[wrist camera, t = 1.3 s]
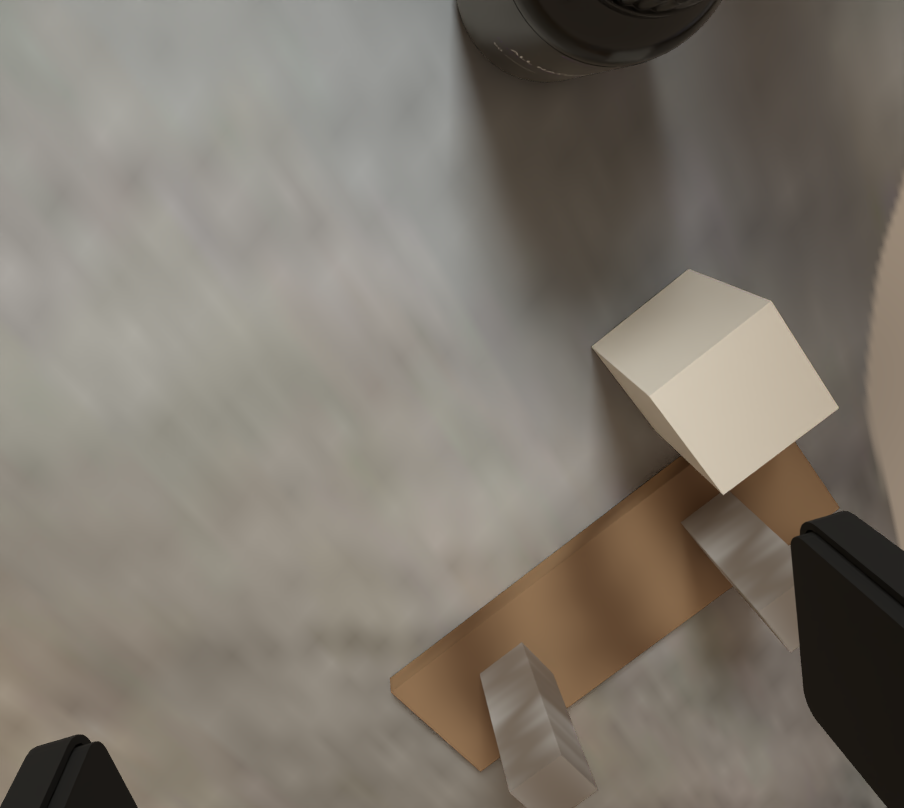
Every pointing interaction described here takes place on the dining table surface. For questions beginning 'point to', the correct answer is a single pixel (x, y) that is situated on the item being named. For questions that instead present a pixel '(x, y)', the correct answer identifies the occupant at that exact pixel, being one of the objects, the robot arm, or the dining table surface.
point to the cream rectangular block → (716, 376)
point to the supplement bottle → (579, 33)
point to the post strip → (609, 616)
